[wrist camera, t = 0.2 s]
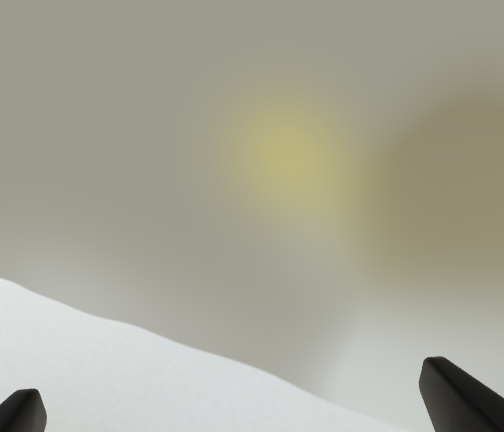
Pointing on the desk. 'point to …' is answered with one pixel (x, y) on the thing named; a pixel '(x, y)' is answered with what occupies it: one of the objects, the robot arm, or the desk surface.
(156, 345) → the desk surface
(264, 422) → the desk surface
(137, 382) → the desk surface
